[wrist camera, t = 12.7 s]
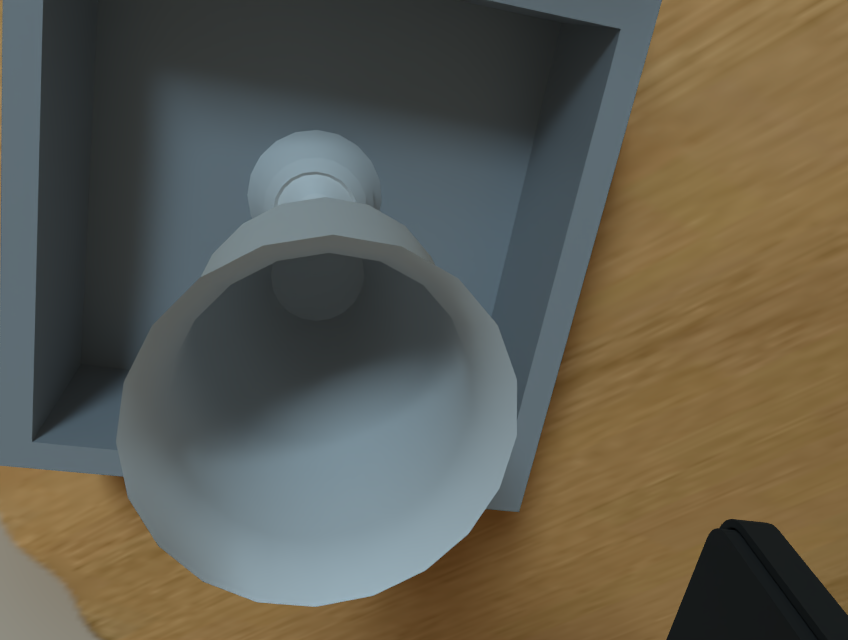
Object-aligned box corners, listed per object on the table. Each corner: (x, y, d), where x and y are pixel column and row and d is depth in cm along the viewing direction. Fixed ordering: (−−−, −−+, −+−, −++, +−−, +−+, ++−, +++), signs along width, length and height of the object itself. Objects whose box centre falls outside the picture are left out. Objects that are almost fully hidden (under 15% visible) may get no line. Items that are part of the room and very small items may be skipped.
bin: (586, -1, 30) (661, 0, 23) (481, 420, 36) (518, 511, 30) (79, -114, 26) (4, -150, 20) (60, 372, 33) (-2, 465, 26)
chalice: (258, 70, 28) (189, 170, 12) (433, 139, 30) (587, 311, 14) (198, 255, 30) (69, 560, 14) (365, 310, 32) (425, 639, 16)
